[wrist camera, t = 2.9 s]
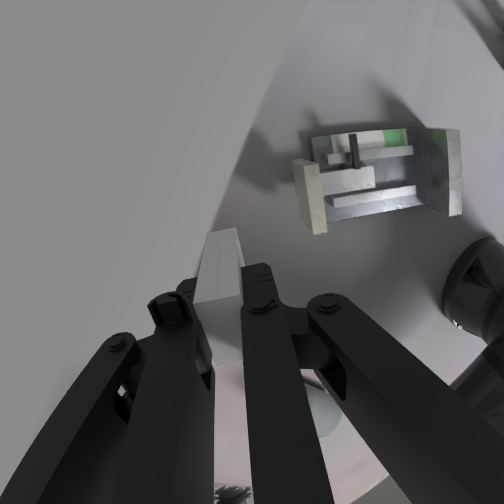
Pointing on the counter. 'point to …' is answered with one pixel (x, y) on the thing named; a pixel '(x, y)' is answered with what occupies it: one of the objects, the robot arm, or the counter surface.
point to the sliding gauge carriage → (327, 185)
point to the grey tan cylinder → (323, 410)
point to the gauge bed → (395, 170)
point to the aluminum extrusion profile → (232, 494)
